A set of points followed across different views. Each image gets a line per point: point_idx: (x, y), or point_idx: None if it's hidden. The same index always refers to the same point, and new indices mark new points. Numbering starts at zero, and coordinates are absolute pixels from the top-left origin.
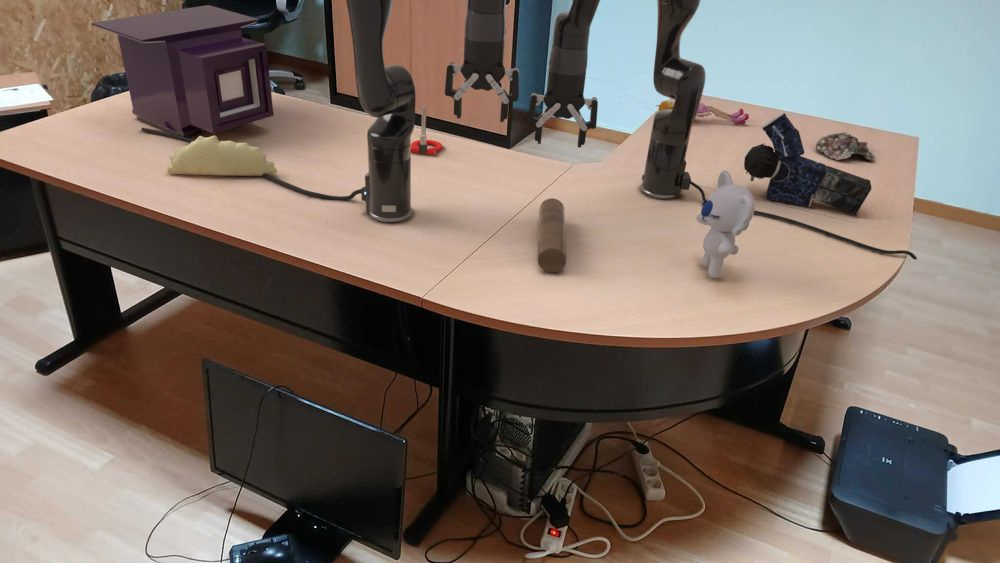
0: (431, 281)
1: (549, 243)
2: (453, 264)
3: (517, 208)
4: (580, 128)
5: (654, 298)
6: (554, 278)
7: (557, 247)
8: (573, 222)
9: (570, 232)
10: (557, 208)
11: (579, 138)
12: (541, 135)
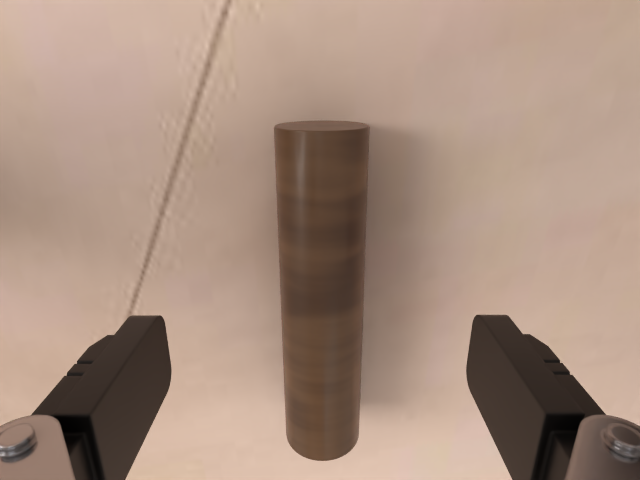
0: None
1: (311, 436)
2: None
3: (194, 38)
4: (550, 439)
5: None
6: None
7: (334, 451)
8: (401, 119)
9: (385, 194)
10: (339, 212)
11: (498, 438)
12: (143, 441)
